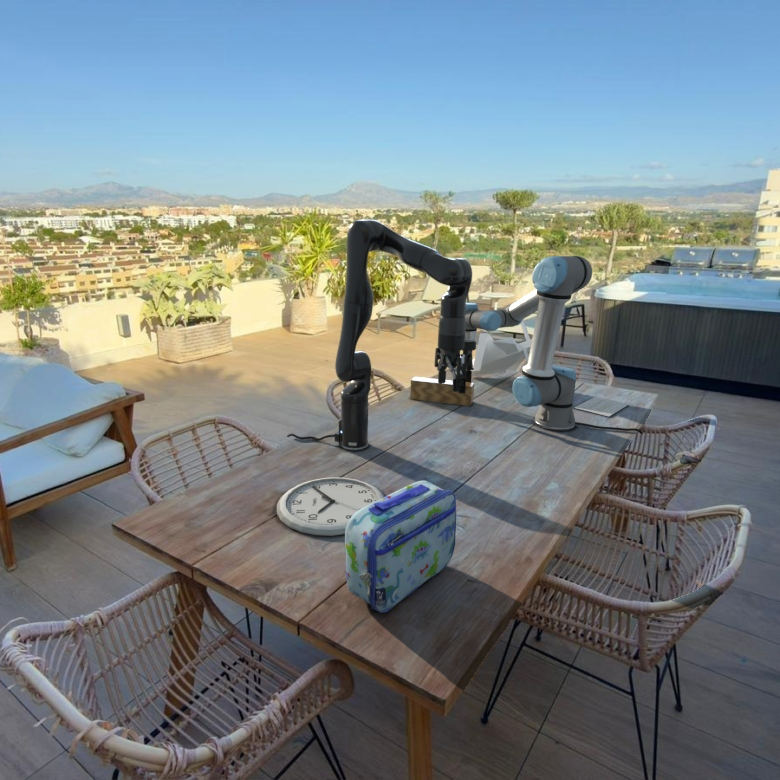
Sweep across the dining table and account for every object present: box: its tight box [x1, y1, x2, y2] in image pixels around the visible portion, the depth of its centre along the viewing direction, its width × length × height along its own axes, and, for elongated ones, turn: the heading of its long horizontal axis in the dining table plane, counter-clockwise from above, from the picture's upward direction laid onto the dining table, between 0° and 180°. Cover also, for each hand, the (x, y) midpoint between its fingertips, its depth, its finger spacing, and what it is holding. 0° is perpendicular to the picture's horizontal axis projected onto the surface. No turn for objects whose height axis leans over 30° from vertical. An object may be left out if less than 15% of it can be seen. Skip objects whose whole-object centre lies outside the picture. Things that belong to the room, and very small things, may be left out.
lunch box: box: [344, 480, 457, 614], centre depth 109 cm, size 26×11×21 cm, turn 135°
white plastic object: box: [472, 318, 532, 378], centre depth 260 cm, size 37×45×31 cm
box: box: [409, 376, 475, 407], centre depth 230 cm, size 27×6×9 cm, turn 71°
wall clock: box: [276, 476, 386, 537], centre depth 142 cm, size 30×2×30 cm
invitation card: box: [573, 396, 629, 418], centre depth 226 cm, size 21×1×15 cm
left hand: (448, 387), depth 151 cm, fingers open, 8 cm apart
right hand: (465, 388), depth 226 cm, fingers open, 13 cm apart
